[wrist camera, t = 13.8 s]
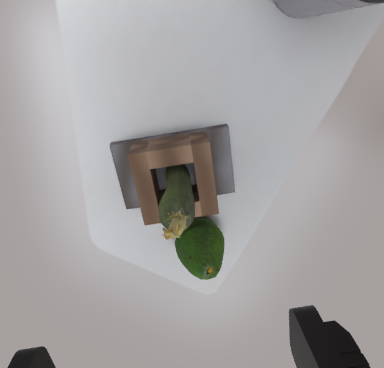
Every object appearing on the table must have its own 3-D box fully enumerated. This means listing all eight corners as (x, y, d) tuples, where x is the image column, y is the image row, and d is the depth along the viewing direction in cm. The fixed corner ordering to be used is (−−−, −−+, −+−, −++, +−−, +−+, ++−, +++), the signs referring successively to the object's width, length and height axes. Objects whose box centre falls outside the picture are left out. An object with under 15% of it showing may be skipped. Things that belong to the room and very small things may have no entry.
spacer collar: (226, 124, 48) (235, 137, 41) (233, 188, 53) (242, 209, 46) (111, 142, 48) (101, 159, 42) (127, 205, 53) (121, 229, 46)
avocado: (212, 249, 58) (222, 297, 47) (170, 241, 56) (170, 289, 45) (225, 212, 55) (238, 254, 44) (181, 203, 53) (183, 244, 42)
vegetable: (195, 170, 49) (209, 245, 31) (174, 187, 50) (176, 269, 32) (176, 150, 48) (179, 216, 30) (155, 168, 49) (146, 242, 31)
